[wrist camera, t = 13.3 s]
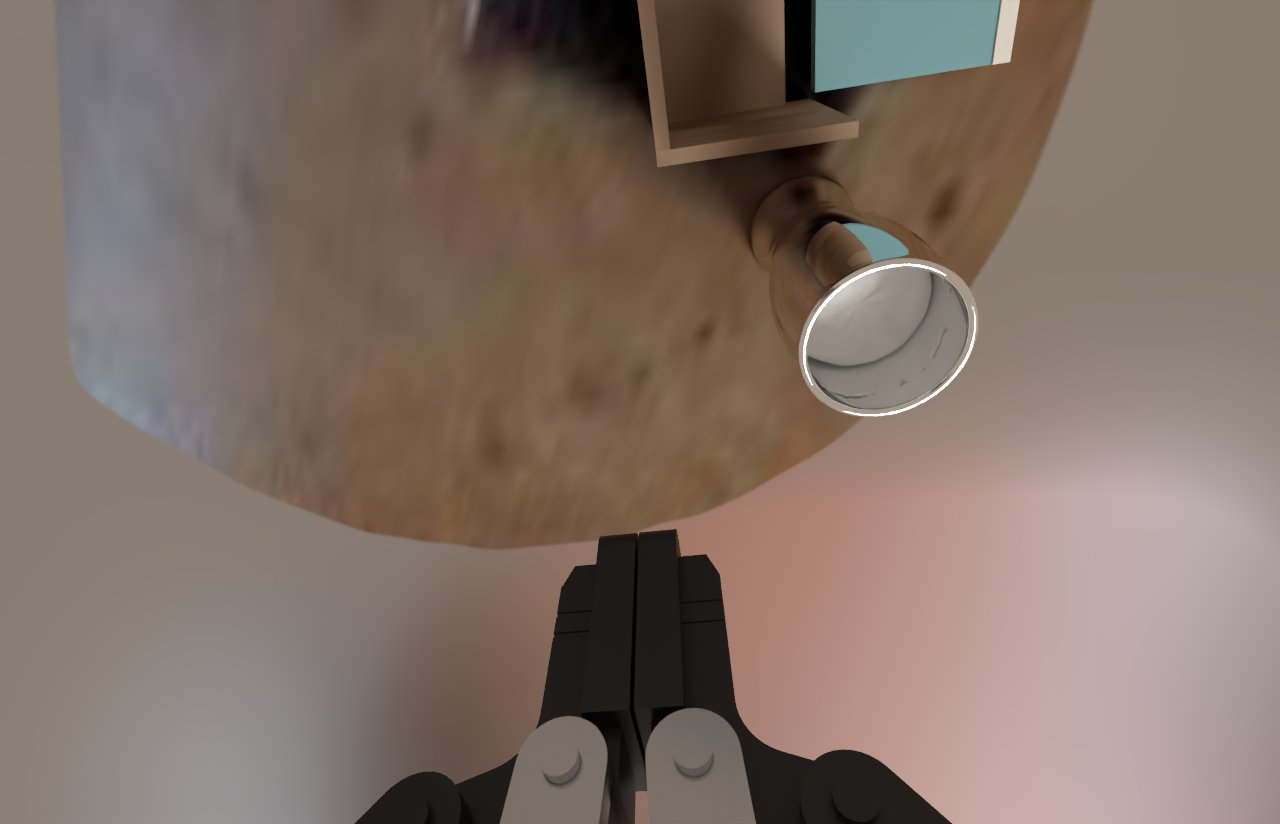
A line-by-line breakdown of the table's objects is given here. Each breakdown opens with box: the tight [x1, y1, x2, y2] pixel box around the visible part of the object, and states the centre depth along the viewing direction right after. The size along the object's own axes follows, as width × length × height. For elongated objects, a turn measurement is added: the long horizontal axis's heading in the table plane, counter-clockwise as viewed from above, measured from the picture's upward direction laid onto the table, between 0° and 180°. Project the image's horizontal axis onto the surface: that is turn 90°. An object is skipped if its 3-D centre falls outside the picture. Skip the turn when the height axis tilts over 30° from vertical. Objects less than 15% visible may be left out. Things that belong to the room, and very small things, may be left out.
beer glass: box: [751, 177, 979, 417], centre depth 29 cm, size 7×7×15 cm
